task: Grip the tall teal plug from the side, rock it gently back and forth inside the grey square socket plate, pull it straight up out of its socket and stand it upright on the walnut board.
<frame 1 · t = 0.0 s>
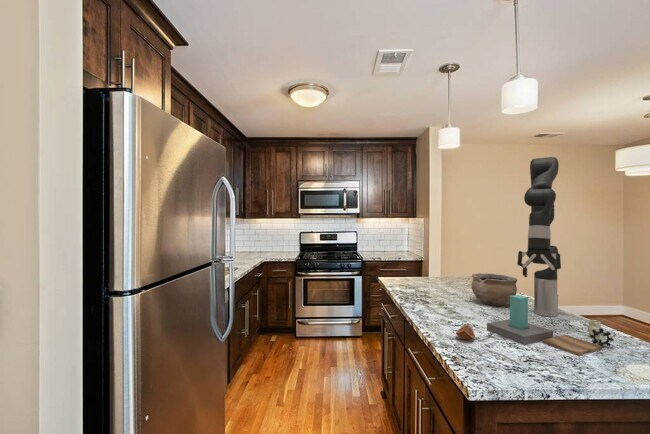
hand: (538, 278, 125), 22 cm above the worktop, tool pointing down, fingers open, 8 cm apart
ceramic bowl: (493, 303, 172), on the worktop
plug: (518, 315, 126), in the grey square socket plate
valve: (597, 342, 119), on the worktop
board: (571, 345, 115), on the worktop
fruit slice: (465, 340, 120), on the worktop
grey square socket plate: (518, 334, 126), on the worktop
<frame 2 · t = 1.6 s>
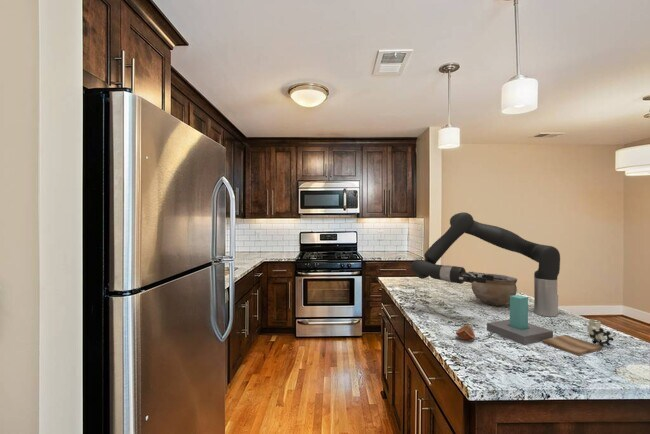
hand: (490, 279, 134), 20 cm above the worktop, tool horizontal, fingers open, 8 cm apart
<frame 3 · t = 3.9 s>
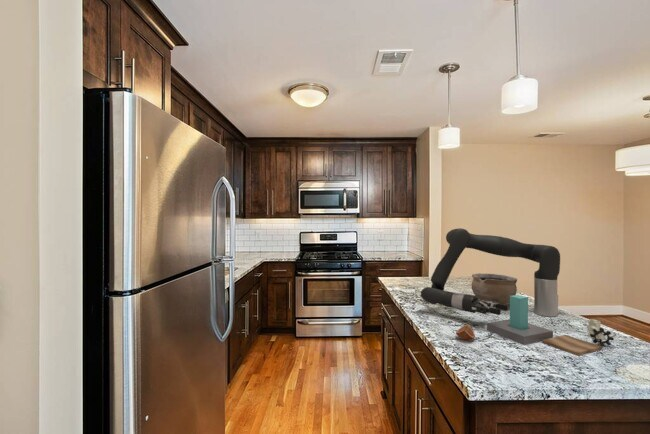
hand: (504, 310, 130), 8 cm above the worktop, tool horizontal, fingers open, 8 cm apart
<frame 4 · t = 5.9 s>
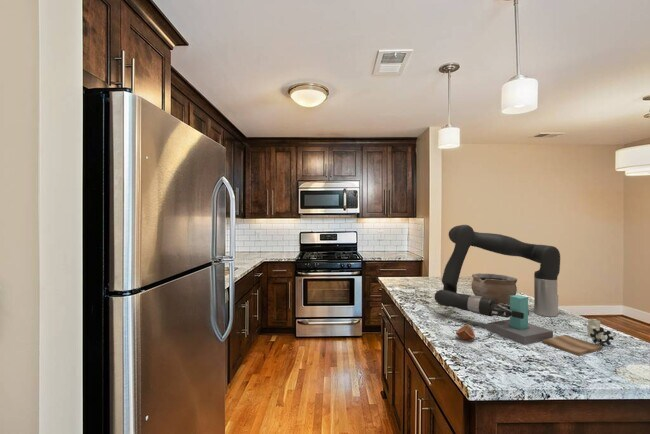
hand: (526, 314, 124), 9 cm above the worktop, tool horizontal, fingers closed on plug, 5 cm apart
plug: (518, 315, 126), in the grey square socket plate, touching gripper
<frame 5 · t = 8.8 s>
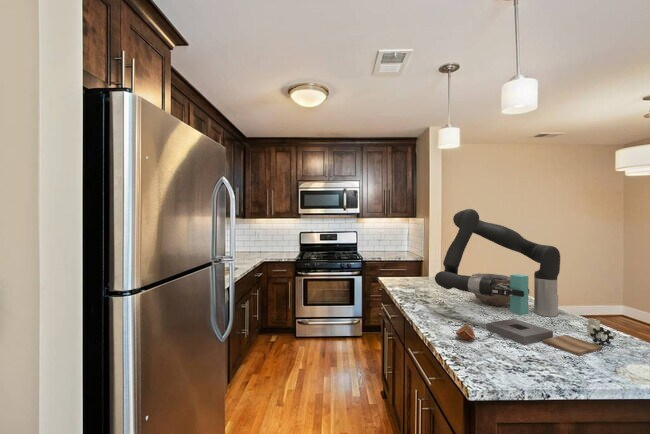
hand: (526, 292, 124), 17 cm above the worktop, tool horizontal, fingers closed on plug, 5 cm apart
plug: (519, 294, 126), point 16 cm above the worktop, touching gripper
when the fingers open (11 cm above the worktop, at t = 12.0 s): plug drops 1 cm, resting on board.
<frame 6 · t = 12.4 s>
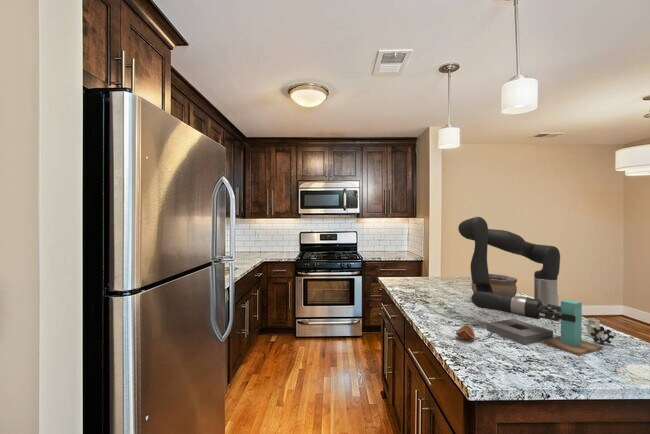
hand: (578, 316, 113), 11 cm above the worktop, tool horizontal, fingers open, 8 cm apart
plug: (571, 322, 115), on the board, point 8 cm above the worktop
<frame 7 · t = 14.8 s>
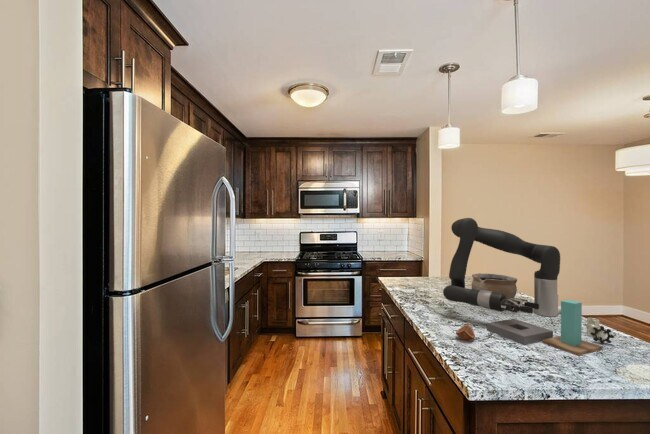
hand: (535, 308, 123), 11 cm above the worktop, tool horizontal, fingers open, 8 cm apart
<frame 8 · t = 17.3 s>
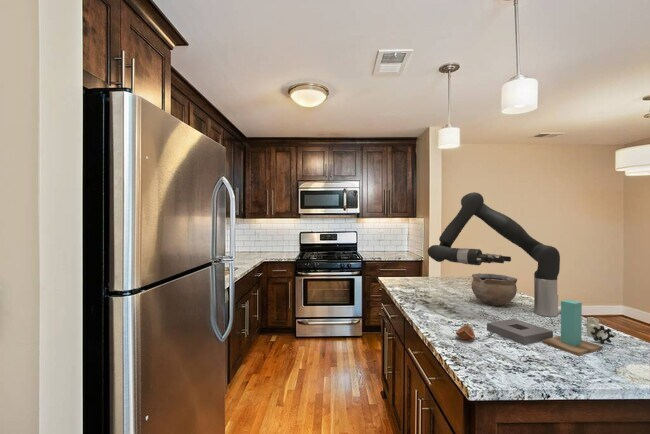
hand: (507, 260, 138), 28 cm above the worktop, tool horizontal, fingers open, 8 cm apart
at the end: plug inside the target area on the board (0.1 cm from its centre), point 8.5 cm above the board's base; plug tilted 0°; plug touching board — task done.
